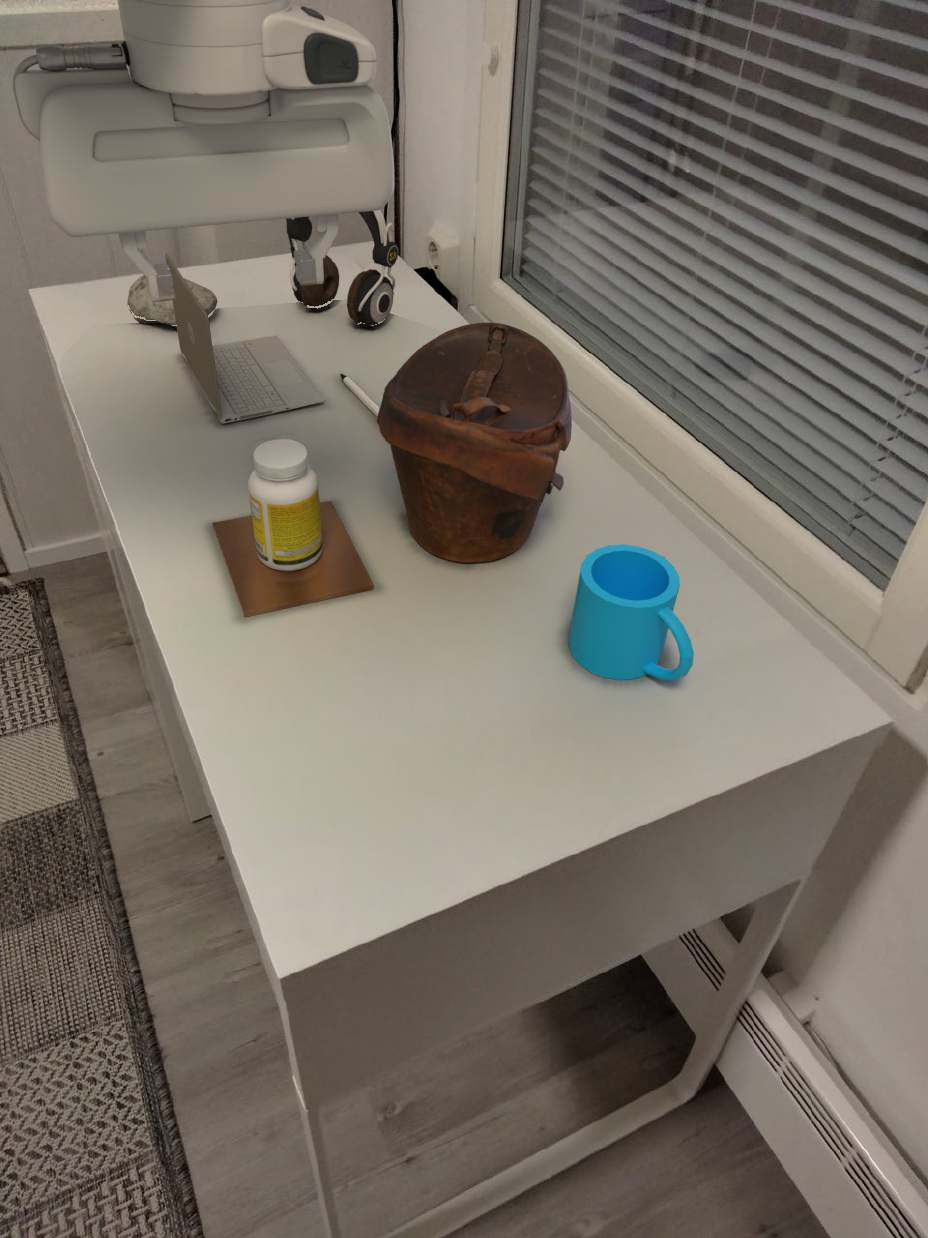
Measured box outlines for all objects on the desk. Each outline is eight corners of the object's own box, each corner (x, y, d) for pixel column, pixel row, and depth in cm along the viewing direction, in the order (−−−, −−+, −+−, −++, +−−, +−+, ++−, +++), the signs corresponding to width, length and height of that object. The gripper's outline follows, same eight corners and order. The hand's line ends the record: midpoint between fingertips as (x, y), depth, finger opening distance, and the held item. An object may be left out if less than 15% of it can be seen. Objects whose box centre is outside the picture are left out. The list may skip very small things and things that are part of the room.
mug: (549, 637, 83) (560, 565, 78) (616, 603, 87) (631, 533, 82) (645, 722, 76) (664, 650, 71) (713, 681, 80) (736, 610, 75)
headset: (274, 308, 130) (260, 153, 116) (309, 290, 135) (300, 139, 122) (376, 343, 124) (374, 182, 110) (408, 322, 129) (410, 166, 115)
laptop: (325, 405, 111) (319, 298, 102) (220, 426, 107) (204, 315, 98) (277, 340, 123) (268, 239, 114) (180, 356, 118) (163, 252, 110)
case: (419, 609, 85) (423, 436, 73) (354, 488, 99) (349, 326, 87) (594, 570, 91) (624, 403, 79) (510, 461, 104) (525, 304, 92)
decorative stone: (224, 301, 131) (220, 265, 128) (213, 336, 123) (208, 299, 120) (133, 299, 130) (127, 263, 127) (117, 334, 122) (109, 296, 119)
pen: (410, 453, 104) (410, 444, 103) (337, 377, 116) (336, 369, 115) (417, 451, 105) (418, 442, 104) (343, 376, 116) (343, 367, 116)
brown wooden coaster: (244, 617, 83) (243, 612, 83) (213, 527, 93) (212, 522, 92) (373, 589, 87) (373, 584, 87) (331, 505, 96) (331, 500, 96)
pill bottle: (335, 545, 91) (329, 445, 83) (300, 581, 86) (291, 479, 79) (280, 526, 92) (270, 427, 85) (243, 561, 88) (229, 460, 81)
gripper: (5, 61, 46) (71, 330, 55) (404, 47, 52) (402, 291, 61) (-1, 33, 50) (61, 287, 59) (368, 23, 56) (372, 255, 66)
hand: (237, 289), depth 60 cm, fingers open, 8 cm apart
